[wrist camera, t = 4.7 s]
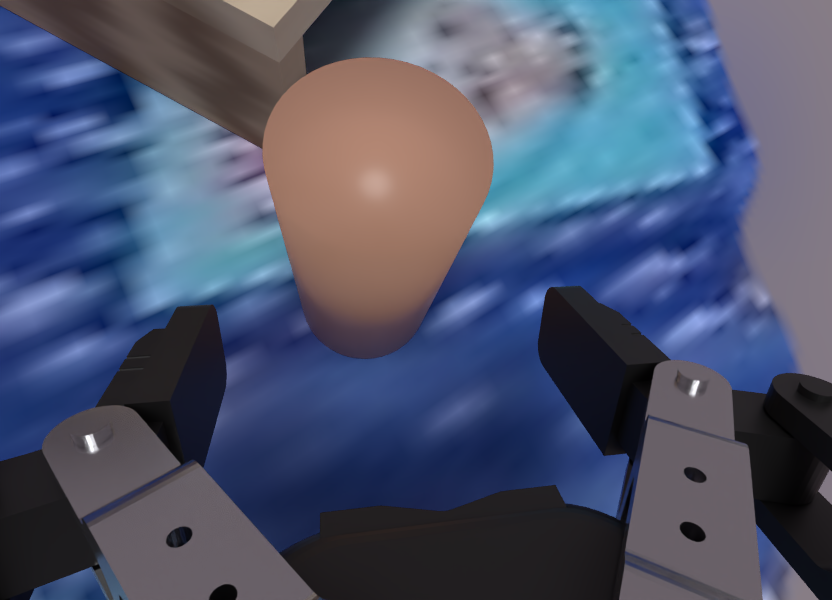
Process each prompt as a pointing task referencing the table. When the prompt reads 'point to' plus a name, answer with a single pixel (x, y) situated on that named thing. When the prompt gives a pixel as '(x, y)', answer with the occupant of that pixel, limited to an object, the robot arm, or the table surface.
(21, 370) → the table surface
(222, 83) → the wooden stand
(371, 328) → the tan dome-topped peg
